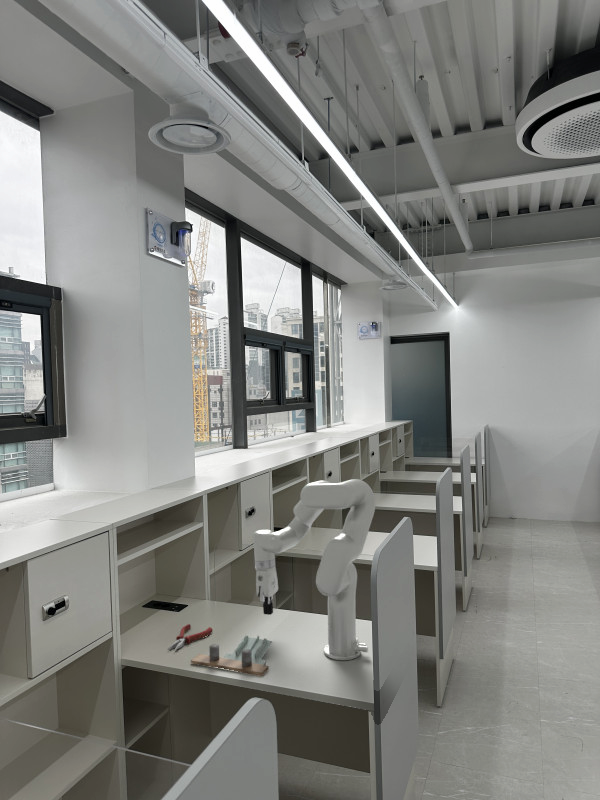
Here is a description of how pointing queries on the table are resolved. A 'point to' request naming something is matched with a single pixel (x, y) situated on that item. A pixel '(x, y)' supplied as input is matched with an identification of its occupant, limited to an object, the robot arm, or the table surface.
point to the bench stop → (231, 662)
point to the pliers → (188, 637)
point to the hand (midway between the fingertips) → (268, 613)
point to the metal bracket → (253, 644)
